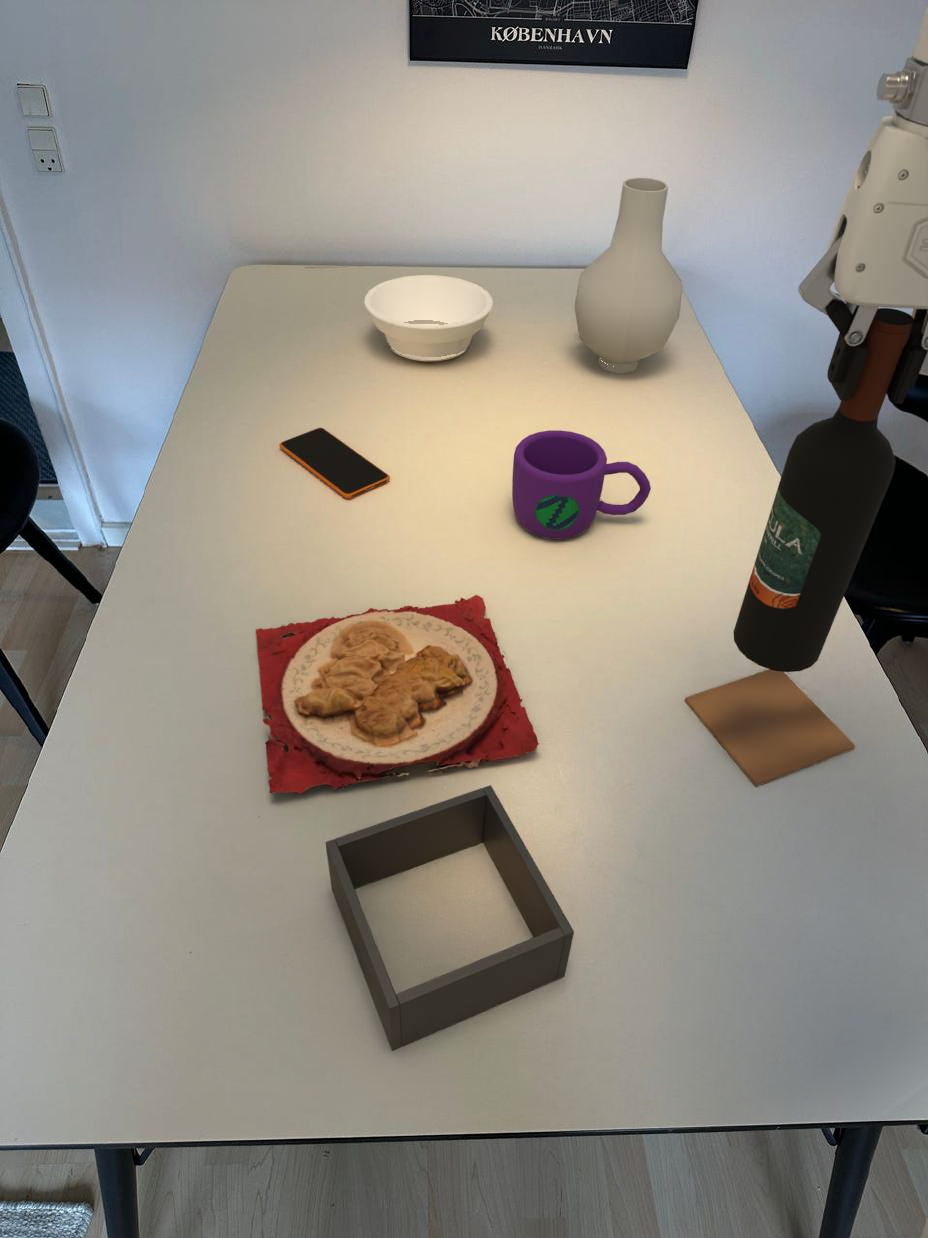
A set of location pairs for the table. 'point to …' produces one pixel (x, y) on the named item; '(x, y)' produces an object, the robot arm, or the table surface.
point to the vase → (630, 284)
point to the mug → (565, 483)
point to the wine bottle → (822, 516)
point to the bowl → (428, 313)
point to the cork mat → (768, 725)
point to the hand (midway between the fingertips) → (866, 390)
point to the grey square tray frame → (477, 982)
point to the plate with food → (387, 695)
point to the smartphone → (334, 462)
